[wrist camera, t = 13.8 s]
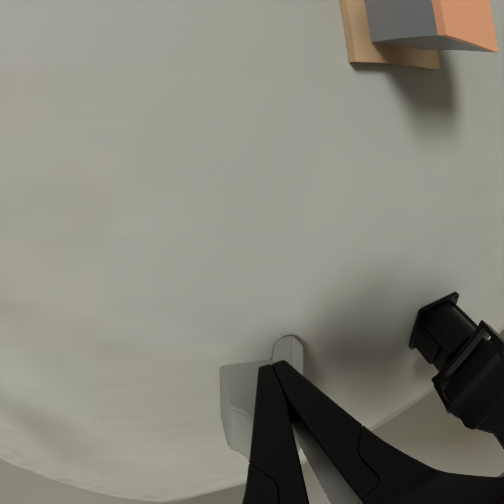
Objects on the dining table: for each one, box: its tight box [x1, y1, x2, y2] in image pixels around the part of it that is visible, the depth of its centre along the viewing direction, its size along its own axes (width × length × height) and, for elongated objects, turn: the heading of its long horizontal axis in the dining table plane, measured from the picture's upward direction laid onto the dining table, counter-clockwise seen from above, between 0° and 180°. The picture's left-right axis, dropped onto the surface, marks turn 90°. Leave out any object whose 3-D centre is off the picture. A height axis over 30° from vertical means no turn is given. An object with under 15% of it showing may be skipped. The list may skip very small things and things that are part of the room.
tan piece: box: [339, 0, 440, 70], centre depth 12 cm, size 8×8×6 cm
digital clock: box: [220, 336, 303, 460], centre depth 24 cm, size 16×9×11 cm, turn 165°
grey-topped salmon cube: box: [364, 0, 498, 53], centre depth 11 cm, size 5×5×7 cm
